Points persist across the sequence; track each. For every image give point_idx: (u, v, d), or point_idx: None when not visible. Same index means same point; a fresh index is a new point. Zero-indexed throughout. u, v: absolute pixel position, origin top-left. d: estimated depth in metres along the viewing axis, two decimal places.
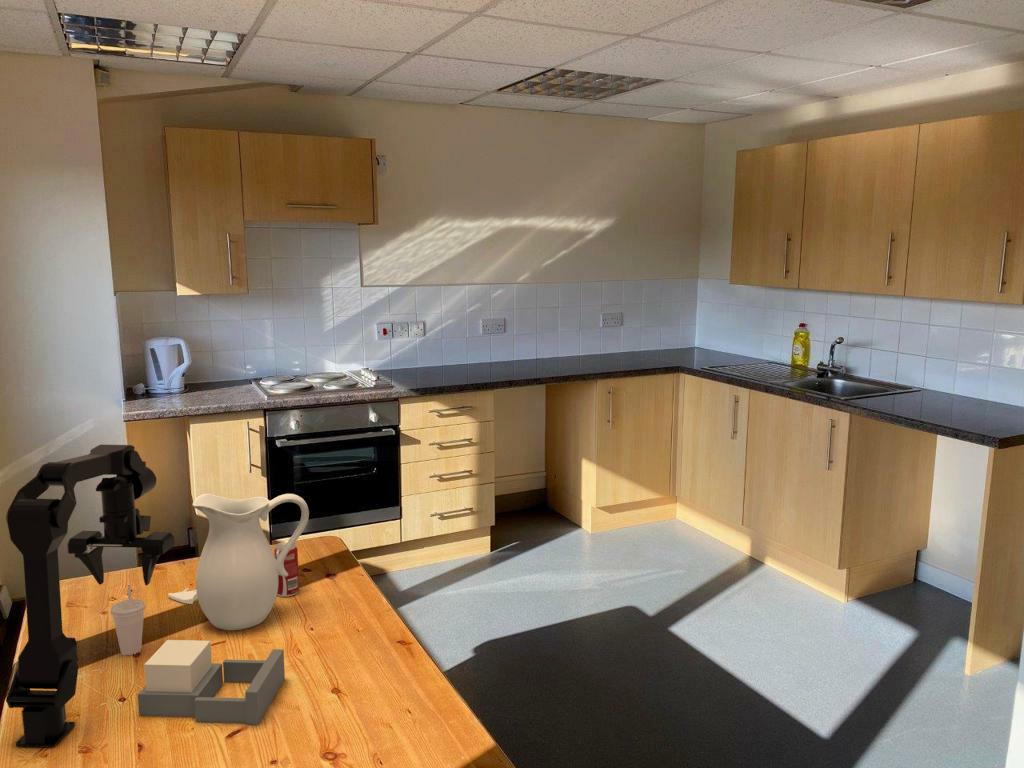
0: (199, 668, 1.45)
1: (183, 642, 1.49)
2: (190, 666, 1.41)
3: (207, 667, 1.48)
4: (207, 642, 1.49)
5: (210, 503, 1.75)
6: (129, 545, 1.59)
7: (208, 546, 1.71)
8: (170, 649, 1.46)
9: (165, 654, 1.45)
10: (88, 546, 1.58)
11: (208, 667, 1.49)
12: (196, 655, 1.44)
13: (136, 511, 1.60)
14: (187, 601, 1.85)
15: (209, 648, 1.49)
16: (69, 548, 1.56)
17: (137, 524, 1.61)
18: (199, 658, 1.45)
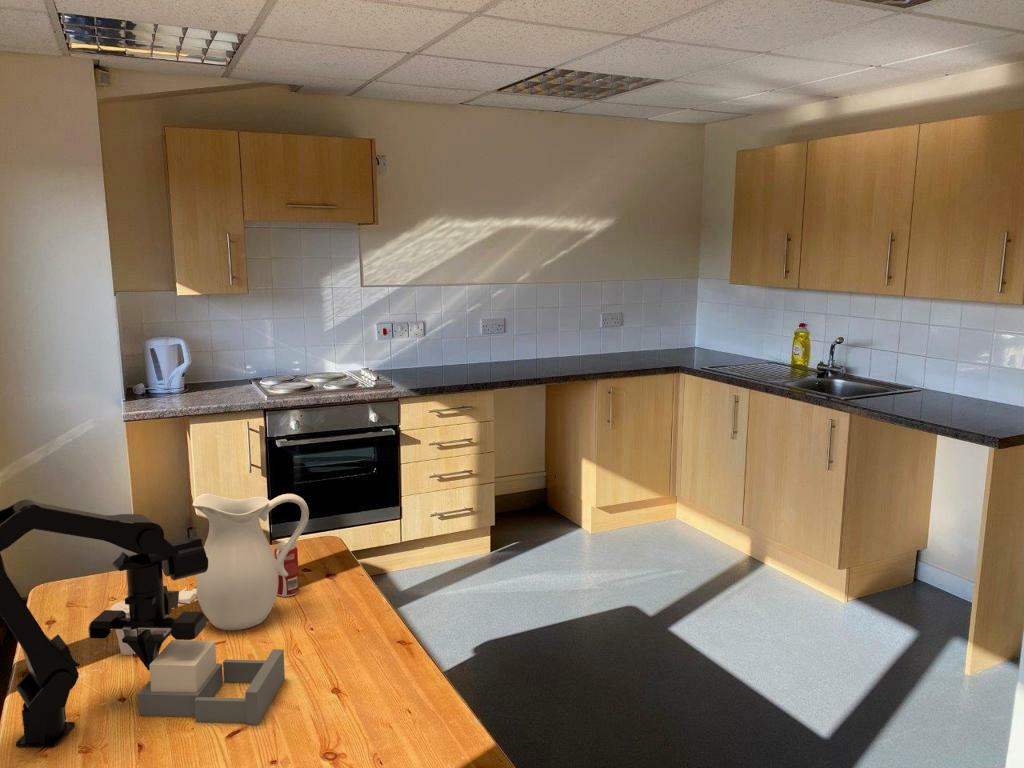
0: (204, 668, 1.45)
1: (188, 642, 1.49)
2: (195, 666, 1.41)
3: (212, 667, 1.48)
4: (212, 642, 1.49)
5: (210, 503, 1.75)
6: None
7: (208, 546, 1.71)
8: (175, 649, 1.46)
9: (170, 654, 1.44)
10: (137, 630, 1.43)
11: (213, 667, 1.49)
12: (201, 655, 1.44)
13: (164, 589, 1.45)
14: (185, 601, 1.85)
15: (214, 648, 1.49)
16: (90, 632, 1.42)
17: (165, 603, 1.46)
18: (204, 658, 1.45)
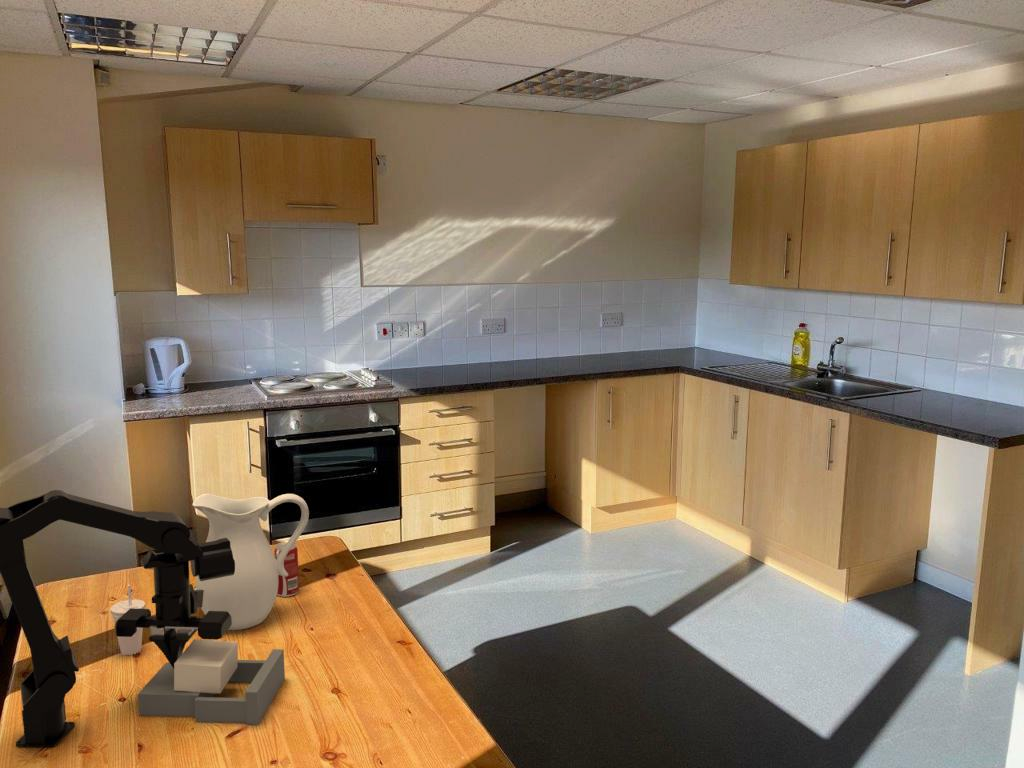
0: (227, 669, 1.45)
1: (211, 642, 1.49)
2: (220, 667, 1.41)
3: (233, 668, 1.48)
4: (235, 643, 1.49)
5: (210, 503, 1.75)
6: None
7: None
8: (198, 649, 1.46)
9: (194, 653, 1.44)
10: (164, 629, 1.43)
11: (234, 668, 1.49)
12: (225, 656, 1.44)
13: (190, 588, 1.45)
14: None
15: (236, 649, 1.49)
16: (117, 630, 1.41)
17: (191, 602, 1.46)
18: (228, 660, 1.45)
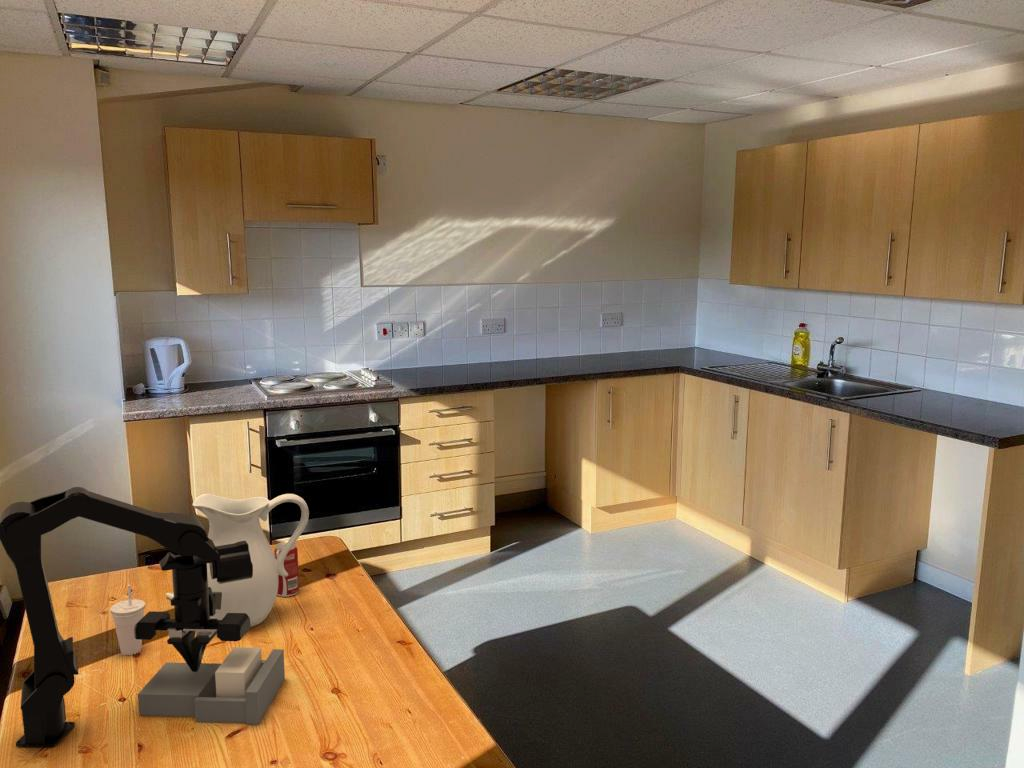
0: None
1: (260, 667, 1.49)
2: None
3: None
4: None
5: (210, 503, 1.75)
6: None
7: None
8: (255, 668, 1.46)
9: (251, 672, 1.45)
10: (182, 631, 1.43)
11: None
12: None
13: (209, 590, 1.45)
14: None
15: None
16: (136, 633, 1.42)
17: (210, 604, 1.46)
18: None
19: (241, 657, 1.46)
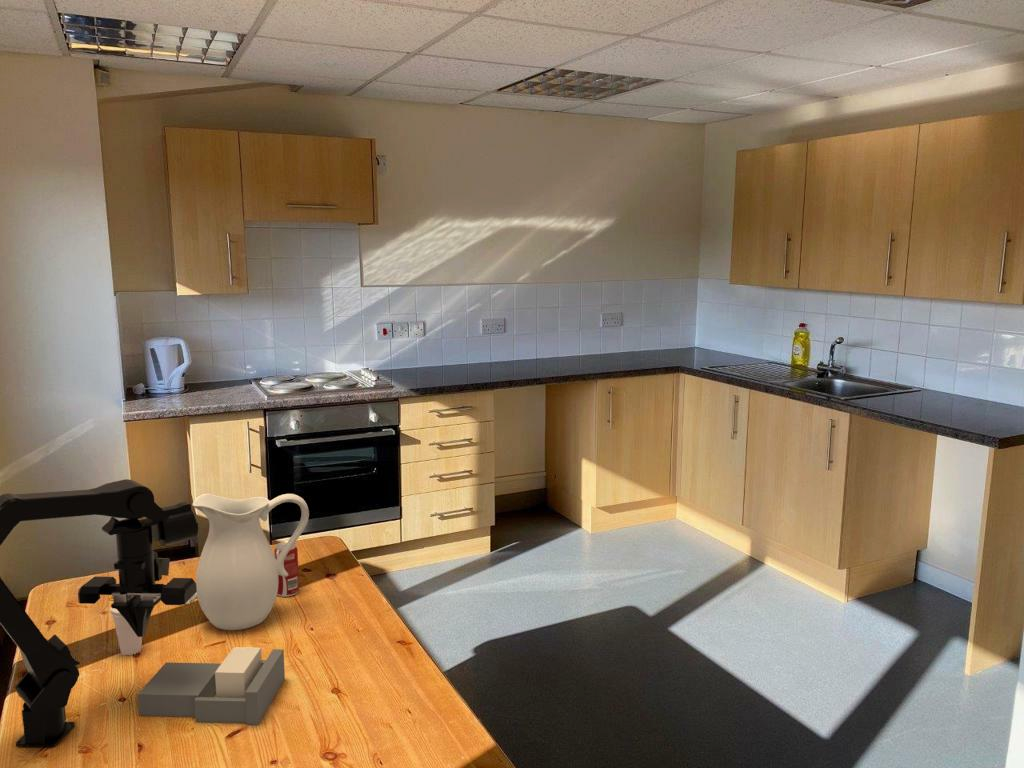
0: None
1: (260, 667, 1.49)
2: None
3: None
4: None
5: (210, 503, 1.75)
6: None
7: (208, 546, 1.71)
8: (255, 668, 1.46)
9: (251, 672, 1.45)
10: (126, 595, 1.42)
11: None
12: None
13: (154, 555, 1.44)
14: None
15: None
16: (80, 597, 1.41)
17: (155, 569, 1.45)
18: None
19: (241, 657, 1.46)
